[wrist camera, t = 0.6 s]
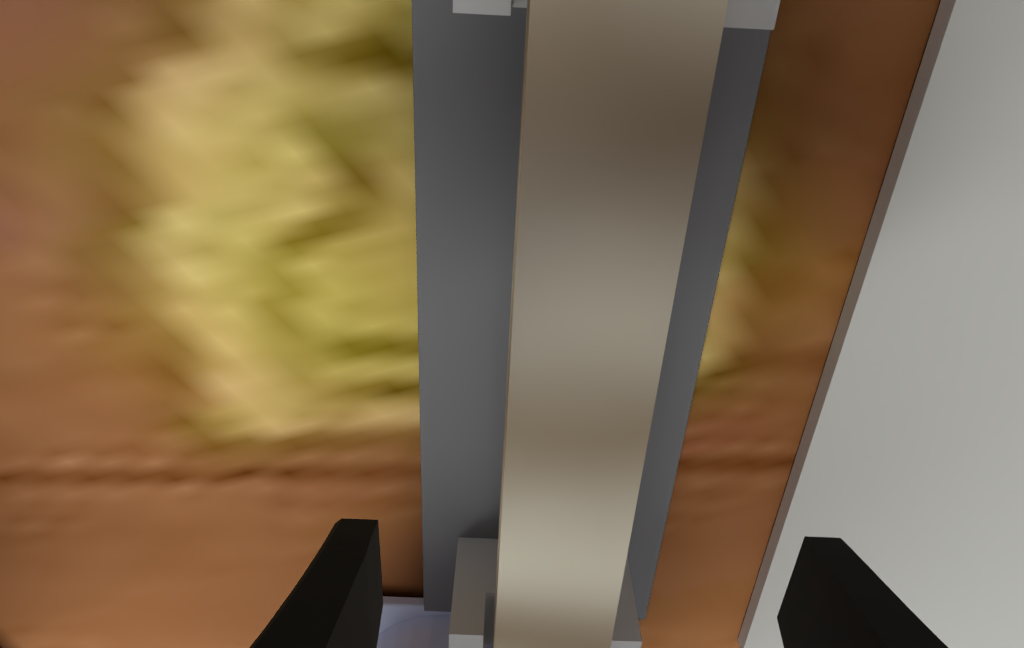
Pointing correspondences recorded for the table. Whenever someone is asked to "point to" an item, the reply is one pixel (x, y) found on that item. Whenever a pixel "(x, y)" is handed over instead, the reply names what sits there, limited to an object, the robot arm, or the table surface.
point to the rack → (488, 286)
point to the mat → (929, 359)
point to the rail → (592, 295)
